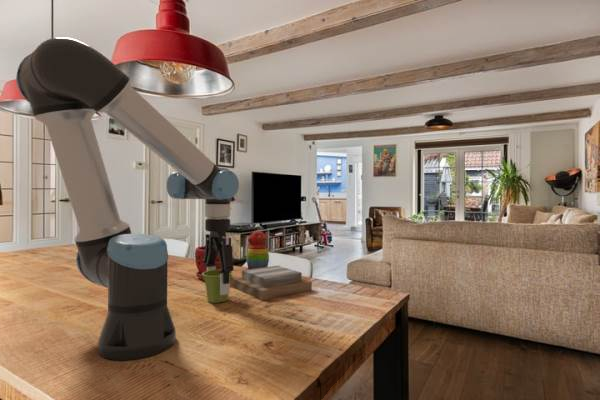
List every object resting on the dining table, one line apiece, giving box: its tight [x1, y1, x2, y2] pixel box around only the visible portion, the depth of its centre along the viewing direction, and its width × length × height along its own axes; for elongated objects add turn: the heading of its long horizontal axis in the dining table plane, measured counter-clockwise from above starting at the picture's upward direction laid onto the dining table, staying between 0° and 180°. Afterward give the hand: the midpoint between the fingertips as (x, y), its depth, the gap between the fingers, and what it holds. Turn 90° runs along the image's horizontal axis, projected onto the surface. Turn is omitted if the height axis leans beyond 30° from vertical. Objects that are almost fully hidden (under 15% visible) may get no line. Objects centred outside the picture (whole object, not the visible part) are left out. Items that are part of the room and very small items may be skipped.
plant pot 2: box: [202, 270, 234, 304], centre depth 107 cm, size 9×9×9 cm
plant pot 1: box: [194, 245, 221, 280], centre depth 138 cm, size 13×13×12 cm
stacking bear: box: [245, 230, 270, 270], centre depth 146 cm, size 11×10×18 cm
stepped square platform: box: [232, 265, 313, 301], centre depth 122 cm, size 20×20×6 cm
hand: (217, 290), depth 107 cm, fingers closed on plant pot 2, 9 cm apart
